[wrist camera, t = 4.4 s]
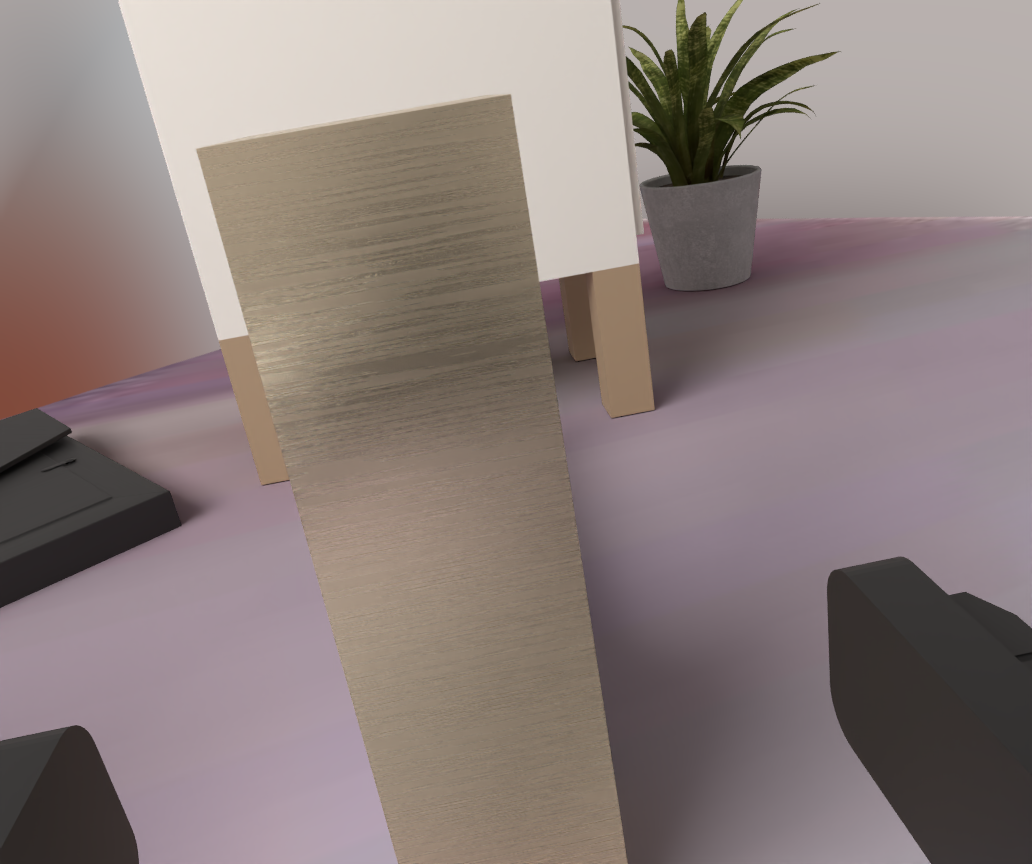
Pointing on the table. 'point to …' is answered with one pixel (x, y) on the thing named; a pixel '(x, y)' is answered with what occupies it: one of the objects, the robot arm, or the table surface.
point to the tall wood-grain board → (429, 469)
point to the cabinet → (401, 85)
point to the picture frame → (67, 506)
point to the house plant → (703, 153)
